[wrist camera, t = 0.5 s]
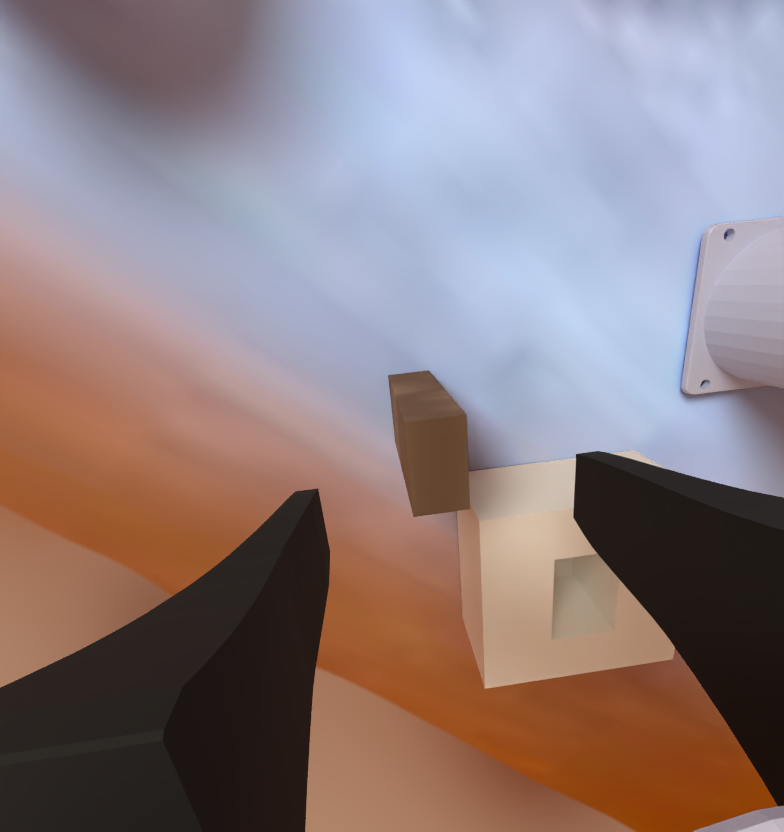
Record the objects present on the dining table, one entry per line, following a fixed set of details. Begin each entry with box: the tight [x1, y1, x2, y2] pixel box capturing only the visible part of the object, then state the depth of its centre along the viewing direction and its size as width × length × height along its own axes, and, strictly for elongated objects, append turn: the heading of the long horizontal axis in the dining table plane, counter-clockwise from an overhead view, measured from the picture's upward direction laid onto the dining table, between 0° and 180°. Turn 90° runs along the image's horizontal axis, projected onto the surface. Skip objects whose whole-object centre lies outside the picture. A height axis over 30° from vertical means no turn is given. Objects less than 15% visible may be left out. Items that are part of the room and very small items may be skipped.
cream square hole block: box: [457, 450, 675, 689], centre depth 21 cm, size 10×10×4 cm
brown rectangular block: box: [388, 371, 470, 517], centre depth 16 cm, size 2×4×7 cm, turn 6°
